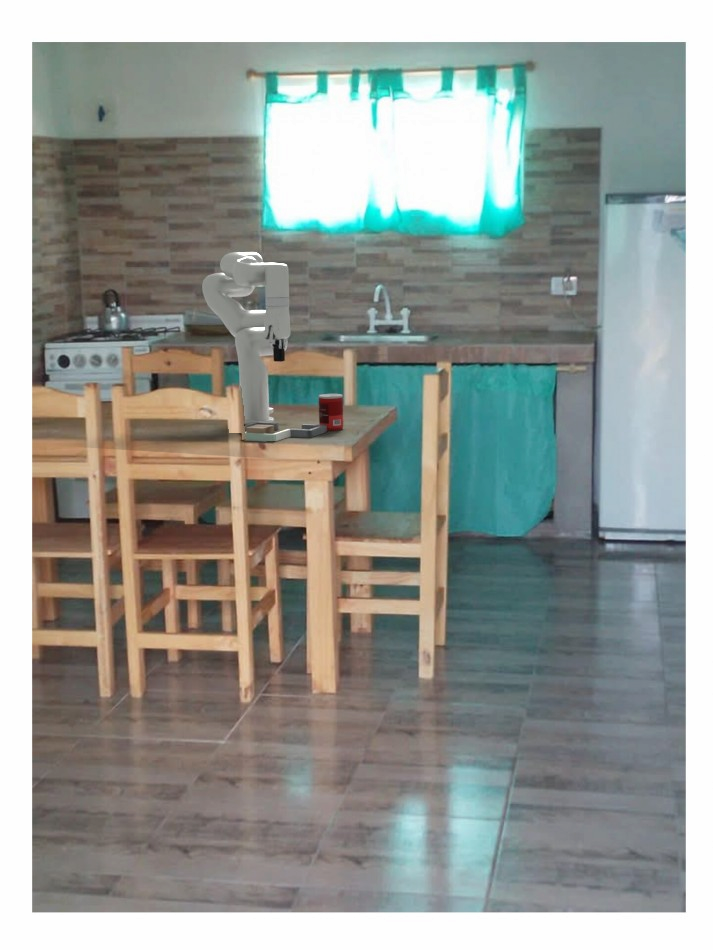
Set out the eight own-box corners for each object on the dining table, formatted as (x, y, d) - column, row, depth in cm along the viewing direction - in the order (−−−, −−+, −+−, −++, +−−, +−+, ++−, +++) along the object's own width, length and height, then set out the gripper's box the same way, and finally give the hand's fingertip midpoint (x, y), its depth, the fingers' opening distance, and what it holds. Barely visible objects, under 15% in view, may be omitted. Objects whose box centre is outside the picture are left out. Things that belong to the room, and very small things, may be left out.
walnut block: (257, 437, 390) (257, 424, 389) (274, 438, 387) (274, 425, 387) (246, 440, 383) (246, 427, 383) (263, 441, 381) (263, 428, 380)
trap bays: (256, 428, 406) (256, 421, 405) (326, 431, 396) (326, 425, 395) (239, 433, 396) (239, 426, 395) (311, 437, 386) (310, 430, 385)
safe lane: (258, 434, 393) (258, 427, 392) (290, 436, 388) (290, 429, 388) (241, 440, 383) (240, 433, 382) (274, 441, 378) (273, 434, 378)
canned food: (346, 427, 404) (345, 393, 402) (339, 431, 397) (338, 396, 395) (323, 427, 407) (322, 393, 404) (316, 430, 399) (315, 396, 397)
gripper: (277, 301, 403) (279, 358, 406) (255, 304, 390) (257, 363, 393) (298, 302, 400) (300, 359, 403) (277, 304, 387) (278, 363, 390)
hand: (279, 361), depth 398 cm, fingers closed
